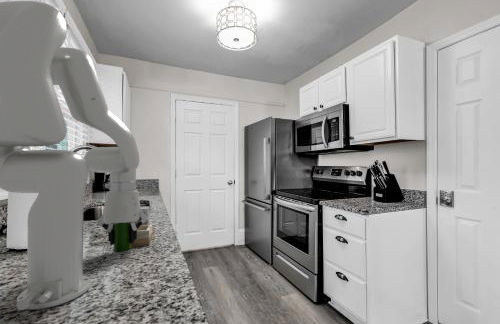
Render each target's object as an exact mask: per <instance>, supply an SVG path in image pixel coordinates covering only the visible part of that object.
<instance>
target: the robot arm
mask: <svg viewBox="0 0 500 324" xmlns="http://www.w3.org/2000/svg"><path fill="white" fill-rule="evenodd" d="M67 30H68V29H67V23H66V21H65V18H64V16H63V14H62V13H61V11H59V9H58V8H56V7H55V6H53V5H51V4H48V3H46V2H41V1H35V0H14V1H13V0H12V1H0V189H1V190H3V191H6V192H9V193H17V194H18V193H20V194H38V195H36V196H37V197H36V198H35V199H34V201H33V203H32V204H31V206H30V207H29V210H28V214H27V252H26V253H27V263H26V265H27V266H26V269H27V270H26V276H27V278H26V280H27V281H26V282H27V284H26V289H25V290H23V291H21V293H19V294H18V295H17V297H16V306H15V307H16V308H17V310H19V311H24V310H29V311H30V310H31V311H33V310H41V309H47V308H51V307H52V308H53V307H55V306H56V307H57V306H59V305H63V304H65V303H68V302H70V301H72V300H75V299H76V298H78V297H80V296H82V295H83V294H85V293H86V292H88V290H89V289H90V288H91V284H92V283H91V281H92V279H91V278H90V277H89V276H87V275H84V272H83V271H84V270H83V269H84V268H83V267H84V266H83V265H84V263H83V262H84V202H85V201H84V199H85V193H86V187H87V183H88V178H89V171H91V172H94V173H103V174H105V173H106V174H107V173H109V182H108V183H105V184H104V188H105V189H108V190H109V191H107V192H106V195H105V200H104V206H103V208H104V209H103V214H102V215H101V216H100V217H99V218H98V219H96V224H98V225H99V226H101V227H102V228H103V229H104V230H105V231H106V232H107V233H108V237H107V239H108V241H107V242H109V245H110V246H113V242H114V224H117V223H131V226H132V231H131V243H134V241H135V240H136V239H137V229H138V228H139V227H140V226H141V225H142V224H143V223H144V222H145V221H146V220H147V219H148V217H147V216H146V215H145V214H144V213H143V212H142V211H141V210H140V207H141V201H140V200H141V199H140V194H139V190H137V168H138V167H139V165H140V154H139V149H138V145H137V143H136V140H135V137H134V134H133V133H132V131H131V130H130V129H129V128H128V127H127V126H126V124H125V123H124V122H123V121H122V120H121V119H120V118H118V117H117V116H116V115H115V114H114V113H112V112H111V111H110V109H109V106H108V104H107V101H106V98H105V96H104V92H103V89H102V86H101V83H100V79H99V78H98V73H97V71H96V68H95V66H94V65H95V64H94V62H93V60H92V58H91V57H90V56H89V54H88V53H87V52H85V51H83V50H81V49H79V48H74V47H64V46H63V45H64V43H65V41H66V39H67V32H68V31H67ZM62 46H63V47H62ZM54 86H58V87H59V89H60V91H61V94H62V96H63V99H64V100H65V103H66V105H67V107H68V110H69V112H70V115H71V117H72V118H73V119H74V121H77V122H79V123H81V124H83V125H86V126H88V127H90V128H93V129H95V130H98V132H102V133H103V134H105V135H106V136H108V137H109V138H111V140H112V141H113V142H114V143H115V144H116V146H106V147H105V146H100V147H98V146H97V147H93V148H91V149H89V150H88V151H86V152H85V155H84V156H82V155H81V154H79V153H78V152H75V151H72V150H66V149H31V148H30V147H47V146H49V147H50V146H54V145H57V144H58V145H59V144H61V142H63V141H64V140H65V138H66V136H67V124H66V122H65V121H66V120H65V117H64V114H63V112H62V108H61V104H60V102H59V99H58V95H57V93H56V90H55V87H54ZM140 217H141V218H142V220H141V221H139V222H138V223H137V222H136V221H138V220H139V218H140Z"/></svg>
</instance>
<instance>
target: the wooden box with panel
mask: <svg viewBox="0 0 500 324" xmlns="http://www.w3.org/2000/svg"><path fill="white" fill-rule="evenodd" d="M140 210H141V211H142V212H143V213H144V214H145V215H146V216H147V217H148V219H147V220H146V221H145V222H144V223H143V224H142V225H141V226H140V227H139V228H138V229H137V239H136V240H135V241H134V243H132V248H133V247H134V248H135V247H144V246H145V247H146V246H150V245H151V242H152V239H153V238H154V235H155V230H156V229H155V227H153V224H150V206H149V205H148V206H144V205H143V206H140ZM141 220H142V218H141V217H140V218H139V220H138V221H136V222H137V223H138V222H139V221H141Z"/></svg>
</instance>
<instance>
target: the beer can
mask: <svg viewBox="0 0 500 324" xmlns="http://www.w3.org/2000/svg"><path fill="white" fill-rule="evenodd" d="M131 231H132V226H131V223H117V224H114V242H113V244H112V246H113V248H112V249H113V253H114V254H116V255H125V254H128V253H130V252H131V251H132V249H133V247H132V243H131Z"/></svg>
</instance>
